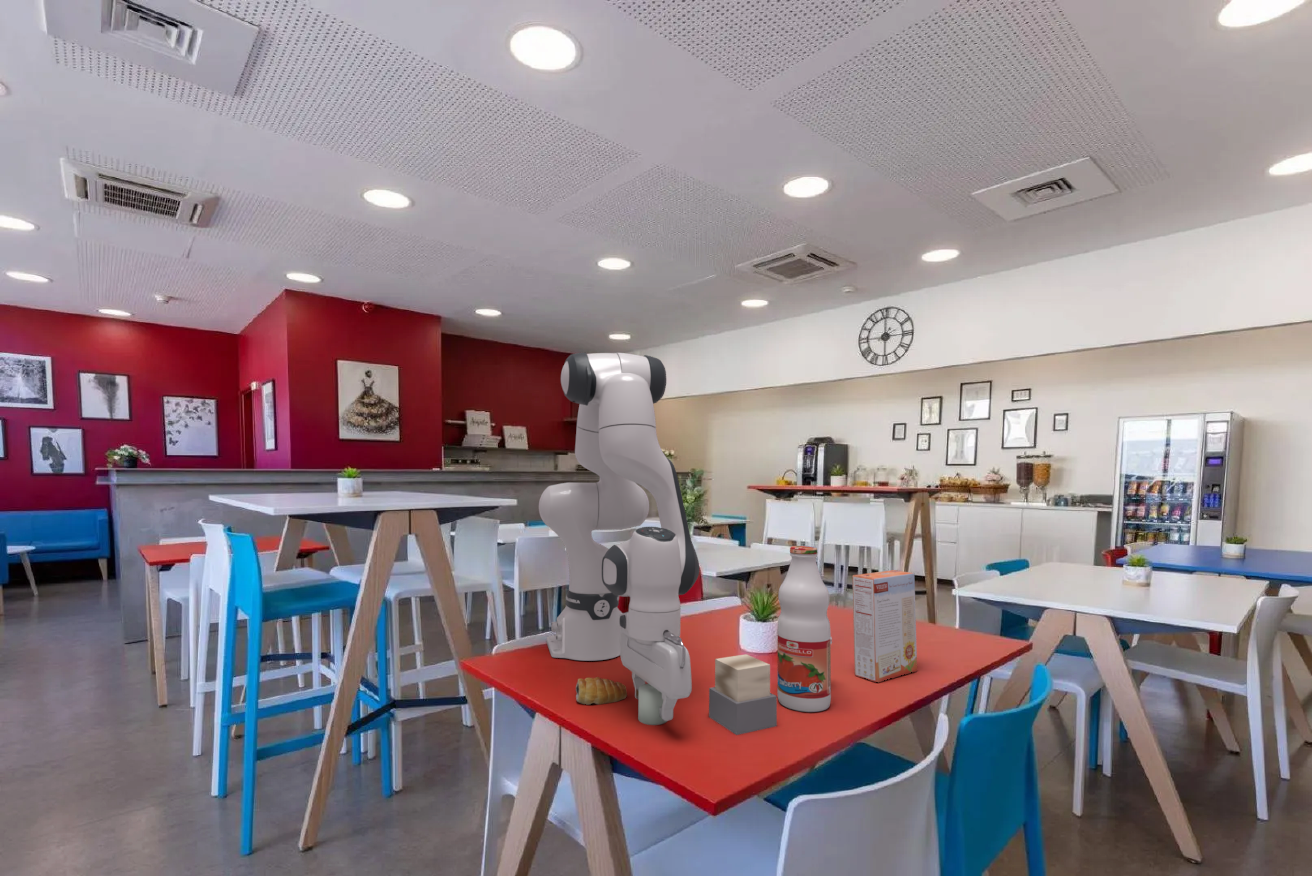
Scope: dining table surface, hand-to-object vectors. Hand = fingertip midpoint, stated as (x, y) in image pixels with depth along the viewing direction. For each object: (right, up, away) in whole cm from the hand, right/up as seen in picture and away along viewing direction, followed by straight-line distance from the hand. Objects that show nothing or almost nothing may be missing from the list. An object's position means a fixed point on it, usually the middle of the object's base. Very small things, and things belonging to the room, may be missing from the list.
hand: (653, 708), depth 100 cm
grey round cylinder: (0, -2, 0) cm, 2 cm away
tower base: (+15, -2, -1) cm, 15 cm away
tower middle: (+15, +3, 0) cm, 15 cm away
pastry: (-10, -3, +9) cm, 14 cm away
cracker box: (+49, -4, +25) cm, 55 cm away
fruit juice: (+27, -3, +8) cm, 28 cm away
